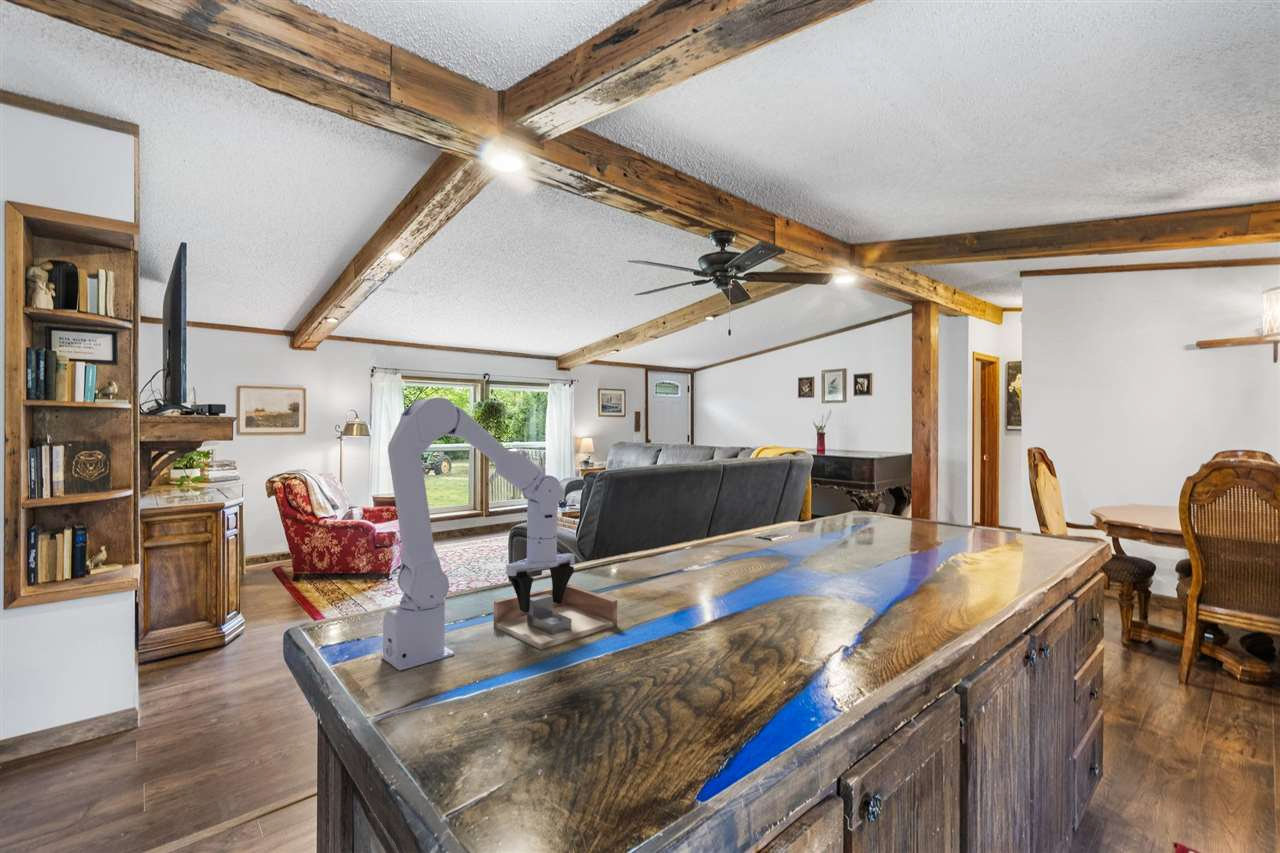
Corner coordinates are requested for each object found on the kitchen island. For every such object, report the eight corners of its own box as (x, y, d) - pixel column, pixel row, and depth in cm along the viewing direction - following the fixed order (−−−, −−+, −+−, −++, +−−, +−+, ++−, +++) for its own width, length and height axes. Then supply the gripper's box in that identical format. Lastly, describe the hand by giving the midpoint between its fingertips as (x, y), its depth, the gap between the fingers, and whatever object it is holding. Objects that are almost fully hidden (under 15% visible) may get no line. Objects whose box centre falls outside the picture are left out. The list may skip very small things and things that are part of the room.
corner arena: (540, 649, 102) (541, 621, 102) (493, 626, 113) (493, 601, 113) (617, 625, 114) (617, 600, 114) (567, 607, 126) (567, 584, 126)
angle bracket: (527, 624, 111) (527, 598, 111) (546, 619, 115) (546, 593, 115) (551, 635, 106) (551, 608, 106) (571, 629, 109) (571, 602, 109)
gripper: (521, 544, 104) (520, 620, 104) (584, 534, 114) (583, 603, 114) (500, 538, 109) (499, 611, 109) (562, 529, 119) (562, 596, 119)
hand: (541, 606), depth 112 cm, fingers open, 7 cm apart
